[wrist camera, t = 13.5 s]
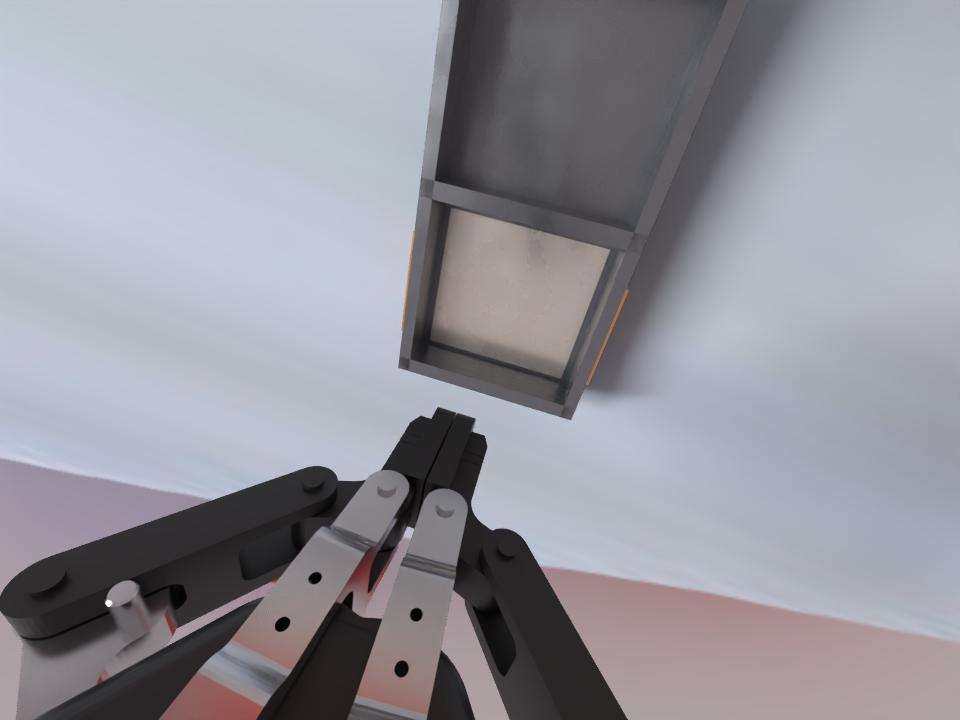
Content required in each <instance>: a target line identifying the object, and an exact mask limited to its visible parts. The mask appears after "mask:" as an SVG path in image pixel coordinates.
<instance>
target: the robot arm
mask: <svg viewBox="0 0 960 720" xmlns="http://www.w3.org/2000/svg"><path fill="white" fill-rule="evenodd" d="M475 420H476V419H475V418H472V417H469V416H466V415H462V414H459V413H457V415H456V412H452V411H449V410H446V409H443V408H440V407H438V408H437V410H436V411H435V413H434V415H433V417H432V419H430V418H426V417H423V416H420V417H418V418H417V419H415V420H413V421H412V422H410V424H409V426H408V427H407V429H406V431H405V433H404V434H403V435H402V437H401V439H400V441H399V442H398V444H397V445H396V447H395V449H394V450H393V452H392V453H391V455H390V457H389V458H388V460H387V462H386V463H385V465H384V466H383V468H382V469H381V471H378V472H375V473H373V474H372V475H371V476H369V477H368V478H367V480H363V481H338V479H337V476H336V474H335V473H334V472H333V471H332V470H330V469H329V468H326V467H322V466H312V467H307V468H304V469H301V470H298V471H295V472H292V473H289V474H287V475H284V476H281V477H278V478H275V479H272V480H269V481H266V482H264V483H261V484H258V485H255V486H252V487H249V488H246V489H243V490H240V491H238V492H235V493H232V494H229V495H226V496H223V497H220V498H217V499H215V500H212V501H209V502H206V503H203V504H200V505H197V506H194V507H191V508H189V509H186V510H183V511H180V512H177V513H174V514H171V515H169V516H166V517H163V518H160V519H157V520H154V521H151V522H148V523H145V524H143V525H140V526H137V527H134V528H131V529H128V530H125V531H122V532H119V533H117V534H114V535H111V536H108V537H105V538H102V539H99V540H96V541H93V542H91V543H88V544H85V545H82V546H79V547H76V548H74V549H70V550H68V551H65V552H62V553H59V554H56V555H53V556H50V557H48V558H45V559H43V560H41V561H38V562H36V563H35V564H33V565H31V566H29V567H28V568H26V569H25V570H24V571H22V572H20V573H19V574H18V575H17V576H15V577H14V578H13V579H12V580H11V581H10V582H9V584H8V585H7V586H6V587H5V589H4V590H3V592H2V593H1V596H0V611H1V612H2V614H3V615H4V616H5V618H6V619H7V620H8V622H9V623H10V624H11V625H12V627H13V632H14V633H15V635H16V636H17V638H18V639H19V640H20V641H21V643H22V644H23V646H22V657H21V668H20V681H19V691H18V703H17V714H16V720H475V718H474V714H473V711H472V708H471V704H470V701H469V698H468V695H467V692H466V689H465V686H464V683H463V681H462V679H461V677H460V675H459V673H458V671H457V669H456V668H455V666H454V664H453V663H452V662H451V661H450V659H449V658H448V657H447V655H446V654H445V653H444V652H443V651H442V650H441V645H442V641H443V635H444V631H445V626H446V621H447V616H448V611H449V607H450V602H451V597H452V591H453V590H454V591H455V592H456V593H458V594H459V595H460V596H461V597H462V598H464V599H465V606H466V609H467V612H468V614H469V617H470V619H471V622H472V624H473V627H474V630H475V632H476V635H477V637H478V640H479V642H480V645H481V647H482V650H483V653H484V655H485V658H486V660H487V663H488V665H489V668H490V670H491V673H492V675H493V678H494V681H495V683H496V685H497V688H498V691H499V693H500V696H501V698H502V701H503V704H504V706H505V709H506V711H507V714H508V716H509V719H510V720H628V719H627V718H626V716H625V714H624V712H623V711H622V709H621V707H620V705H619V704H618V702H617V700H616V699H615V697H614V695H613V693H612V691H611V690H610V688H609V686H608V685H607V683H606V681H605V680H604V678H603V676H602V674H601V672H600V671H599V669H598V667H597V665H596V664H595V662H594V660H593V658H592V657H591V655H590V653H589V651H588V650H587V648H586V646H585V645H584V643H583V641H582V639H581V638H580V636H579V634H578V632H577V631H576V629H575V627H574V625H573V624H572V622H571V620H570V619H569V617H568V615H567V613H566V612H565V610H564V608H563V606H562V605H561V603H560V601H559V599H558V598H557V596H556V594H555V592H554V591H553V589H552V587H551V585H550V584H549V582H548V580H547V579H546V577H545V575H544V573H543V572H542V570H541V568H540V566H539V565H538V563H537V561H536V559H535V558H534V556H533V554H532V552H531V551H530V549H529V547H528V545H527V544H526V542H525V541H524V539H523V538H522V537H521V536H520V535H518V534H517V533H515V532H514V531H511V530H508V529H495V530H493V531H492V530H490V529H489V528H487V527H486V526H485V525H483V524H482V523H481V522H480V521H479V520H478V519H477V518H476V516H475V515H474V513H473V511H472V507H471V500H472V497H473V493H474V490H475V487H476V483H477V480H478V477H479V473H480V470H481V467H482V463H483V460H484V457H485V453H486V450H487V443H486V439H485V436H484V435H481V434H477V433H474V432H473V428H474V424H475ZM407 526H408V527H411V528H414V532H413V535H412V538H411V541H410V545H409V547H408V550H407V553H406V556H405V557H404V558H403V560H402V563H401V565H400V568H399V571H398V574H397V577H396V580H395V583H394V586H393V589H392V592H391V595H390V598H389V601H388V604H387V607H386V609H385V612H384V615H383V618H382V619H377V618H364V614H365V611H366V608H367V606H368V603H369V601H370V599H371V597H372V595H373V593H374V592H375V590H376V588H377V586H378V584H379V582H380V581H381V579H382V577H383V575H384V573H385V571H386V570H387V568H388V566H389V564H390V562H391V560H392V558H393V557H394V555H395V553H396V551H397V549H398V547H399V544H400V541H401V539H402V537H403V535H404V533H405V530H406V528H407ZM279 577H280V578H279ZM277 578H279V579H278V581H277V582H276V583H275V584H274V586H273V587H272V588H271V590H270V591H269V592H268V593H267V595H266V596H265V597H262V598H258V599H256V600H253V601H251V602H248V603H246V604H244V605H242V606H240V607H238V608H237V609H235V610H233V611H231V612H229V613H228V614H226V615H224V616H222V617H220V618H218V619H216V620H215V621H213V622H211V623H209V624H207V625H205V626H204V627H202V628H200V629H198V630H196V631H194V632H192V633H191V634H189V635H187V636H185V637H183V638H182V639H180V640H178V641H176V642H174V643H172V644H170V645H169V646H167V647H165V646H166V645H167V644H168V643H169V641H170V640H171V638H172V637H173V635H174V633H175V631H176V629H177V628H179V627H181V626H182V625H185V624H187V623H189V622H191V621H193V620H195V619H197V618H198V617H201V616H202V615H205V614H207V613H208V612H211V611H213V610H215V609H217V608H219V607H221V606H223V605H225V604H227V603H229V602H231V601H233V600H235V599H237V598H239V597H241V596H243V595H245V594H247V593H249V592H251V591H253V590H255V589H257V588H259V587H261V586H263V585H265V584H267V583H269V582H271V581H273V580H275V579H277ZM164 647H165V648H164Z"/></svg>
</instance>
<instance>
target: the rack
mask: <svg viewBox="0 0 960 720" xmlns="http://www.w3.org/2000/svg"><path fill="white" fill-rule="evenodd" d="M748 1H749V0H442V8H441V16H440V24H439V33H438V41H437V49H436V58H435V66H434V74H433V83H432V91H431V99H430V108H429V116H428V124H427V133H426V141H425V149H424V158H423V166H422V174H421V183H420V191H419V199H418V208H417V216H416V224H415V231H414V232H413V237H412V246H411V254H410V263H409V271H408V280H407V288H406V297H405V305H404V314H403V322H402V331H403V333H402V341H401V350H400V358H399V366H398V368H401V369H404V370H407V371H411V372H414V373H417V374H421V375H424V376H427V377H431V378H434V379H437V380H440V381H444V382H447V383H450V384H454V385H457V386H460V387H463V388H467V389H470V390H473V391H477V392H480V393H483V394H486V395H490V396H493V397H496V398H500V399H503V400H506V401H509V402H513V403H516V404H519V405H523V406H526V407H529V408H533V409H536V410H539V411H542V412H546V413H549V414H552V415H556V416H559V417H562V418H565V419H569V420H571V419H572V416H573V414H574V412H575V409H576V407H577V405H578V402H579V400H580V397H581V395H582V393H583V390H584V388H585V386H586V385H589V383H590V380H591V378H592V376H593V373H594V371H595V369H596V366H597V364H598V362H599V359H600V357H601V355H602V352H603V350H604V348H605V345H606V343H607V341H608V338H609V336H610V334H611V331H612V329H613V327H614V324H615V322H616V320H617V317H618V315H619V313H620V310H621V308H622V306H623V303H624V301H625V299H626V296H627V294H628V292H629V289H628V284H629V282H630V280H631V277H632V275H633V272H634V270H635V268H636V265H637V263H638V261H639V258H640V256H641V254H642V251H643V249H644V247H645V244H646V242H647V239H648V237H649V235H650V232H651V230H652V228H653V225H654V223H655V221H656V218H657V216H658V214H659V211H660V209H661V206H662V204H663V202H664V199H665V197H666V195H667V192H668V190H669V188H670V185H671V183H672V181H673V178H674V176H675V173H676V171H677V169H678V166H679V164H680V162H681V159H682V157H683V155H684V152H685V150H686V147H687V145H688V143H689V140H690V138H691V136H692V133H693V131H694V129H695V126H696V124H697V122H698V119H699V117H700V114H701V112H702V110H703V107H704V105H705V103H706V100H707V98H708V96H709V93H710V91H711V89H712V86H713V84H714V81H715V79H716V77H717V74H718V72H719V70H720V67H721V65H722V63H723V60H724V58H725V56H726V53H727V51H728V48H729V46H730V44H731V41H732V39H733V37H734V34H735V32H736V30H737V27H738V25H739V23H740V20H741V18H742V15H743V13H744V11H745V8H746V6H747V4H748Z"/></svg>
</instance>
